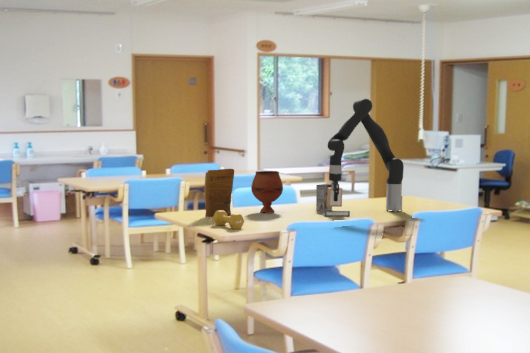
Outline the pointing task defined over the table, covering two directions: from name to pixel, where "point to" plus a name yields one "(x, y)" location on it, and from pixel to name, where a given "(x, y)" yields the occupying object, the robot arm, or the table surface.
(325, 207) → the coffee box
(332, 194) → the shelf carton
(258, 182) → the goblet
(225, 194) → the pancake mix bag
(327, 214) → the shelf board
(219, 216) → the dumbbell
